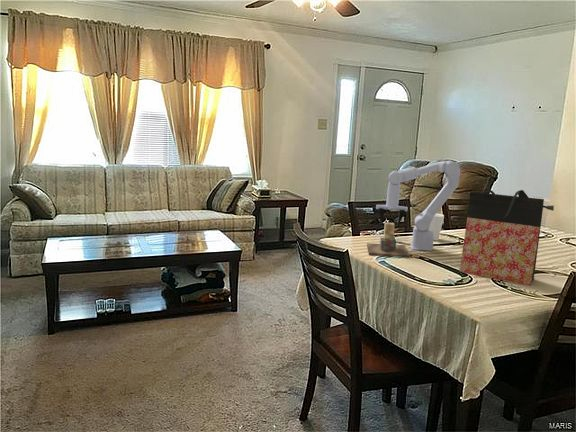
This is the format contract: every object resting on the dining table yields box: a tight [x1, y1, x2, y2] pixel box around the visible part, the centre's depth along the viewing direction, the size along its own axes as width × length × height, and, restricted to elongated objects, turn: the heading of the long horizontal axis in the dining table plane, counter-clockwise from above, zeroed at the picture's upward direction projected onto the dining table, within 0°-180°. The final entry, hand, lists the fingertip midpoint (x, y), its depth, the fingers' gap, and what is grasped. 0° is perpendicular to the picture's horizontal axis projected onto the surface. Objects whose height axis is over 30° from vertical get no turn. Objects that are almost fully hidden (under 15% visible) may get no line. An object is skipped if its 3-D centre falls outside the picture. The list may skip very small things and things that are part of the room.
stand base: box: [366, 237, 411, 258], centre depth 215 cm, size 18×18×6 cm
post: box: [382, 222, 395, 241], centre depth 213 cm, size 4×4×8 cm
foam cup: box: [428, 212, 445, 241], centre depth 241 cm, size 10×9×13 cm
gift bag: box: [459, 188, 555, 287], centre depth 179 cm, size 29×14×35 cm, turn 56°
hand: (390, 224), depth 223 cm, fingers open, 7 cm apart
